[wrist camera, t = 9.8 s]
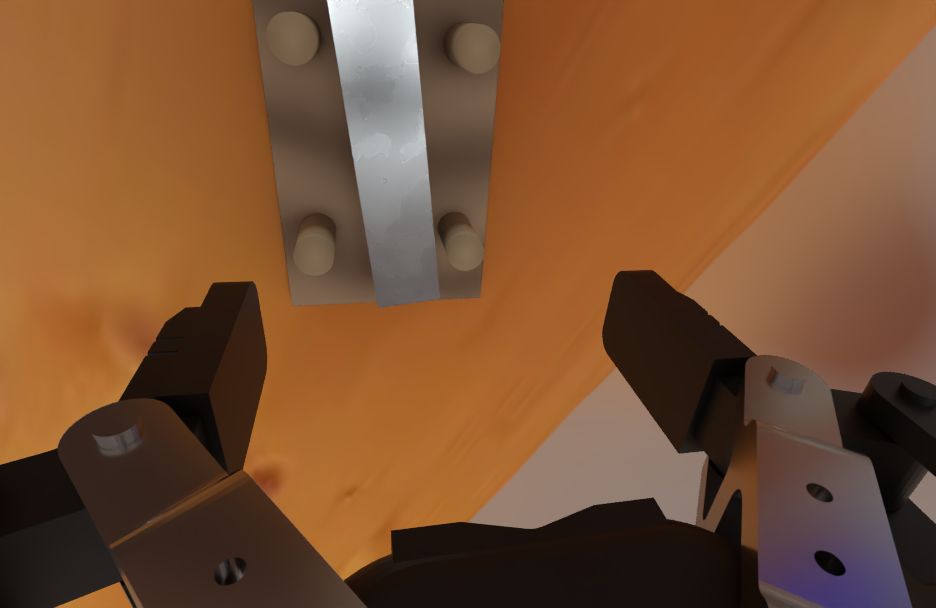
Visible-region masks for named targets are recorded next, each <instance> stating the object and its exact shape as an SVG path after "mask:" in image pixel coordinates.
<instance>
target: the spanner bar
mask: <svg viewBox="0 0 936 608" xmlns="http://www.w3.org/2000/svg"><path fill="white" fill-rule="evenodd" d="M327 2H328V8H329V14H330V21H331V27H332V33H333V39H334V45H335V51H336V57H337V63H338V69H339V75H340V81H341V87H342V93H343V99H344V105H345V111H346V118H347V124H348V130H349V136H350V142H351V148H352V154H353V160H354V166H355V172H356V178H357V184H358V190H359V196H360V202H361V208H362V214H363V221H364V227H365V233H366V239H367V245H368V251H369V257H370V263H371V269H372V275H373V281H374V287H375V293H376V299H377V305H378V308H379V307H387V306H394V305H401V304H408V303H415V302H422V301H429V300H436V299H440V293H439V282H438V271H437V260H436V249H435V238H434V227H433V216H432V205H431V194H430V183H429V172H428V161H427V150H426V139H425V128H424V117H423V106H422V95H421V84H420V73H419V62H418V51H417V40H416V29H415V18H414V7H413V0H327Z"/></svg>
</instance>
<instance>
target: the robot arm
mask: <svg viewBox="0 0 936 608" xmlns="http://www.w3.org/2000/svg"><path fill="white" fill-rule="evenodd" d="M602 337H603V344H604V348H605V350H606V352H607V354H608V356H609V357H610V358H611V360H612V361H613V363H614V364H615V365H616V367H617V368H618V369H619V371H620V372H621V374H622V375H623V376H624V378H625V379H626V381H627V382H628V383H629V385H630V386H631V388H632V389H633V390H634V392H635V393H636V395H637V396H638V397H639V399H640V400H641V402H642V403H643V404H644V406H645V407H646V408H647V410H648V411H649V413H650V414H651V415H652V417H653V418H654V420H655V421H656V422H657V424H658V425H659V427H660V428H661V429H662V431H663V432H664V434H665V435H666V436H667V438H668V439H669V440H670V442H671V443H672V445H673V446H674V447H675V449H676V450H677V452H678V453H689V452H699V451H705V453H706V454H707V457H706V460H705V463H704V465H703V467H702V473H701V482H700V490H699V499H698V507H697V516H696V525H692V524H688V523H683V522H679V521H675V520H669V519H666V518H665V516H664V514H663V513H662V511H661V509H660V507H659V506H658V504H657V502H656V501H655V499H654V498H647V499H639V500H631V501H623V502H615V503H607V504H601V505H600V504H599V505H593V506H591V507H589V508H586V509H584V510H581V511H579V512H576V513H574V514H571V515H569V516H567V517H564V518H562V519H560V520H557V521H555V522H552V523H550V524H547V525H545V526H543V527H540V528H536V529H523V528H513V527H504V526H495V525H485V524H476V523H466V522H456V523H448V524H441V525H433V526H425V527H417V528H409V529H401V530H393V531H391V551H392V554H390V555H387V556H385V557H382V558H380V559H378V560H376V561H374V562H372V563H370V564H368V565H366V566H365V567H363V568H361V569H360V570H358V571H357V572H355V573H354V574H352V575H351V576H350V577H348V578H347V579H345V580H344V581H343V580H342V579H341V578H340V576H339V575H338V574H337V573H336V572H335V571H334V570H333V569H332V567H331V566H330V565H329V564H328V563H327V562H326V561H325V560H324V558H323V557H322V556H321V555H320V554H319V553H318V552H317V551H316V550H315V548H314V547H313V546H312V545H311V544H310V543H309V542H308V541H307V539H306V538H305V537H304V536H303V535H302V534H301V533H300V532H299V530H298V529H297V528H296V527H295V526H294V525H293V524H292V523H291V521H290V520H289V519H288V518H287V517H286V516H285V515H284V514H283V513H282V511H281V510H280V509H279V508H278V507H277V506H276V505H275V504H274V502H273V501H272V500H271V499H270V498H269V497H268V496H267V495H266V493H265V492H264V491H263V490H262V489H261V488H260V487H259V486H258V485H257V483H256V482H255V481H254V480H253V479H252V478H251V477H250V476H249V475H248V474H247V473H246V472H245V471H243V466H244V462H245V458H246V454H247V450H248V446H249V442H250V437H251V433H252V429H253V425H254V421H255V417H256V413H257V409H258V405H259V400H260V396H261V392H262V388H263V384H264V380H265V376H266V370H267V348H266V341H265V335H264V329H263V323H262V317H261V311H260V305H259V299H258V293H257V289H256V285H255V283H254V282H253V281H250V282H217V283H213V284H212V285H211V287H210V289H209V291H208V293H207V295H206V297H205V299H204V301H203V303H202V305H201V307H189V308H184V309H183V310H182V311H180V312H179V313H178V314H176V315H175V316H173V317H172V318H171V319H169V320H168V321H167V322H166V323H165V324H164V326H163V328H162V329H161V331H160V333H159V334H158V336H157V338H156V342H154V343H153V344H152V346H151V348H150V349H149V351H148V356H145V358H144V359H143V361H142V363H141V364H140V366H139V368H138V369H137V371H136V373H135V374H134V376H133V378H132V379H131V381H130V383H129V384H128V386H127V388H126V390H125V391H124V393H123V395H122V396H121V398H120V400H119V401H118V402H115V403H111V404H109V405H106V406H103V407H101V408H99V409H96V410H94V411H92V412H90V413H89V414H87V415H85V416H83V417H82V418H81V419H79V420H78V421H76V422H75V423H74V424H73V425H72V426H71V427H69V429H68V430H67V431H66V432H65V433H64V434H63V436H62V438H61V439H60V442H59V444H58V448H57V449H54V450H51V451H48V452H45V453H41V454H38V455H34V456H30V457H27V458H23V459H20V460H16V461H12V462H9V463H5V464H2V465H0V608H54V607H57V606H59V605H62V604H64V603H67V602H69V601H72V600H74V599H77V598H80V597H82V596H85V595H87V594H90V593H92V592H95V591H97V590H100V589H102V588H105V587H107V586H110V585H112V584H115V583H117V582H119V584H120V585H121V587H122V589H123V591H124V593H125V595H126V597H127V599H128V601H129V602H130V604H131V606H132V608H936V524H935V523H934V522H933V521H932V520H931V519H930V518H929V517H928V516H927V515H926V514H924V513H923V512H922V511H921V510H920V509H919V508H918V507H917V506H916V505H915V504H914V503H913V502H912V501H911V500H910V499H909V496H910V495H911V493H912V492H913V491H914V489H915V488H916V487H917V485H918V484H919V483H920V481H921V480H922V479H923V477H924V476H925V474H926V473H927V472H928V471H930V472H931V473H932V474H933V475H934V476H936V386H935V385H933V384H931V383H929V382H926V381H924V380H922V379H919V378H916V377H913V376H909V375H906V374H901V373H895V372H880V373H876V374H875V375H873V376H872V378H871V379H870V381H869V383H868V384H867V386H866V388H865V390H864V391H863V393H856V392H849V391H842V390H835V389H830V387H829V385H828V384H827V382H826V381H825V380H824V379H823V378H822V377H821V376H820V375H818V374H817V373H816V372H814V371H813V370H811V369H809V368H807V367H806V366H804V365H802V364H800V363H797V362H795V361H792V360H789V359H786V358H781V357H778V356H770V355H759V356H757V355H756V354H755V353H754V352H752V351H751V350H750V349H749V348H748V347H747V346H745V345H744V344H743V343H742V342H741V341H740V340H739V339H738V338H736V337H735V336H734V335H733V334H732V333H731V332H730V331H728V330H727V329H726V328H725V327H724V326H722V325H721V326H720V323H719V322H718V321H717V320H716V319H715V318H714V317H713V316H711V315H708V312H707V311H705V309H703V308H702V307H701V306H700V305H699V304H698V303H696V302H695V301H694V300H693V299H691V298H689V297H687V296H685V295H683V294H681V293H679V292H677V291H676V290H675V289H674V288H672V287H671V286H670V285H669V284H668V283H667V282H666V281H665V280H664V279H662V278H661V277H660V276H659V275H658V274H657V273H656V272H654V271H652V270H638V271H620V272H619V273H618V274H617V275H616V277H615V279H614V282H613V286H612V291H611V295H610V299H609V303H608V308H607V312H606V316H605V321H604V325H603V331H602Z"/></svg>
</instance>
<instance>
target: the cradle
mask: <svg viewBox="0 0 936 608" xmlns="http://www.w3.org/2000/svg"><path fill="white" fill-rule="evenodd" d="M252 2H253V9H254V17H255V25H256V32H257V40H258V48H259V55H260V63H261V71H262V78H263V86H264V94H265V101H266V109H267V117H268V125H269V132H270V140H271V148H272V155H273V163H274V171H275V178H276V186H277V194H278V201H279V209H280V217H281V224H282V232H283V240H284V247H285V255H286V263H287V271H288V278H289V286H290V294H291V301H292V306H300V305H323V304H346V303H370V302H377V299H376V293H375V287H374V281H373V275H372V269H371V263H370V257H369V251H368V245H367V239H366V233H365V227H364V221H363V214H362V208H361V202H360V196H359V190H358V184H357V178H356V172H355V166H354V160H353V154H352V148H351V142H350V136H349V130H348V124H347V118H346V111H345V105H344V99H343V93H342V87H341V81H340V75H339V69H338V63H337V57H336V51H335V45H334V39H333V33H332V27H331V21H330V14H329V8H328V2H327V0H252ZM503 4H504V0H413V7H414V18H415V29H416V40H417V51H418V62H419V73H420V84H421V95H422V106H423V117H424V128H425V139H426V150H427V161H428V172H429V183H430V194H431V205H432V216H433V227H434V238H435V249H436V260H437V271H438V282H439V293H440V299H462V298H480V294H481V281H482V269H483V257H484V244H485V231H486V218H487V206H488V193H489V181H490V168H491V155H492V143H493V130H494V118H495V105H496V93H497V80H498V67H499V56H500V42H501V30H502V17H503ZM436 300H439V299H436Z"/></svg>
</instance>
